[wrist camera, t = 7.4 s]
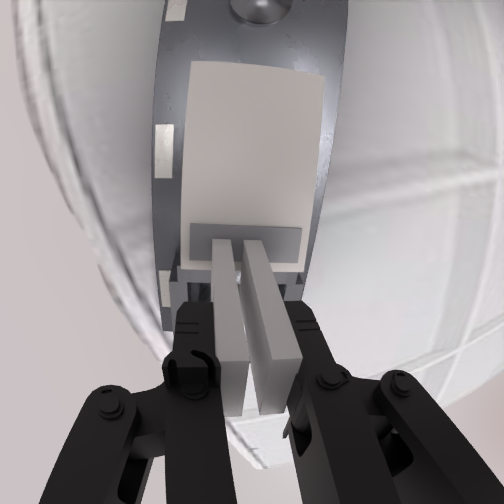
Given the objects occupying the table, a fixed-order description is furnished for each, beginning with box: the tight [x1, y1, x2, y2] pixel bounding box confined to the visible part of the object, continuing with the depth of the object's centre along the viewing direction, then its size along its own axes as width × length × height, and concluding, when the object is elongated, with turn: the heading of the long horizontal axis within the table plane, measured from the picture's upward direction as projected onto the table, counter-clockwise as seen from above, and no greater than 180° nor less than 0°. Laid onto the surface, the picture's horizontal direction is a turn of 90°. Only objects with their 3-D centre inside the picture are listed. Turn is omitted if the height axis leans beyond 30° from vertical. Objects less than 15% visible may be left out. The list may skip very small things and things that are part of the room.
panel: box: [152, 0, 348, 335], centre depth 15 cm, size 26×10×5 cm, turn 174°
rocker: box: [181, 61, 325, 272], centre depth 12 cm, size 9×6×1 cm, turn 175°
